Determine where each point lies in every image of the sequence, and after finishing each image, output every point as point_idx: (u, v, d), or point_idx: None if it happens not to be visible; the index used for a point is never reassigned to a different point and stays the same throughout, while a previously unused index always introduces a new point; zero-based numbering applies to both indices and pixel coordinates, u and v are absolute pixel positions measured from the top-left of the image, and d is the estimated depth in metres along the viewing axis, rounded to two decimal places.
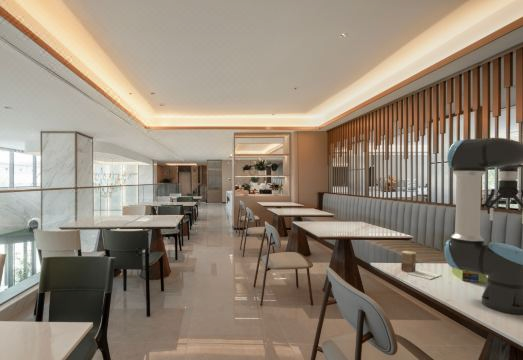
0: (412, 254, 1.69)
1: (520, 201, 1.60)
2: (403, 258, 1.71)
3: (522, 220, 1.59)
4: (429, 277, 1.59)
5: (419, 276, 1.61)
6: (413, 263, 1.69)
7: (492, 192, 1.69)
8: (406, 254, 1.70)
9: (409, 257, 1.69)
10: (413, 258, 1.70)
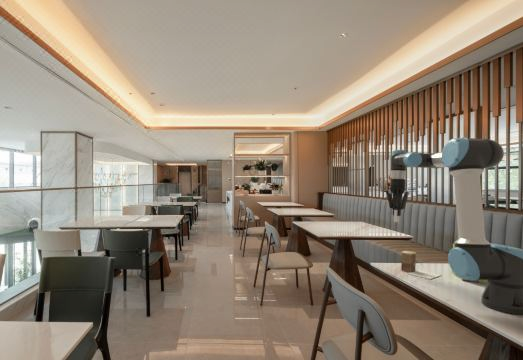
0: (412, 254, 1.69)
1: (399, 201, 1.76)
2: (403, 258, 1.71)
3: (395, 219, 1.77)
4: (429, 277, 1.59)
5: (419, 276, 1.61)
6: (413, 263, 1.69)
7: (387, 193, 1.81)
8: (406, 254, 1.70)
9: (409, 257, 1.69)
10: (413, 258, 1.70)
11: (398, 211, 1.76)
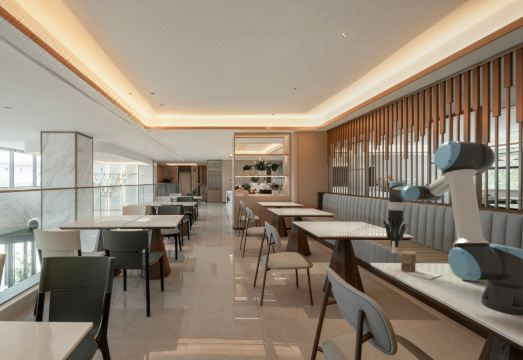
0: (412, 254, 1.69)
1: (397, 232, 1.76)
2: (403, 258, 1.71)
3: (393, 250, 1.77)
4: (429, 277, 1.59)
5: (419, 276, 1.61)
6: (413, 263, 1.69)
7: (385, 224, 1.81)
8: (406, 254, 1.70)
9: (409, 257, 1.69)
10: (413, 258, 1.70)
11: (396, 242, 1.76)
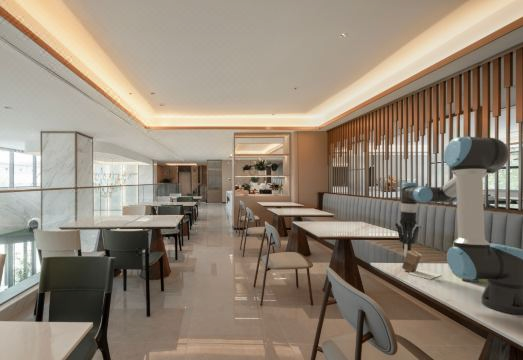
0: (417, 256, 1.66)
1: (410, 235, 1.70)
2: (407, 257, 1.69)
3: (405, 253, 1.71)
4: (429, 277, 1.59)
5: (419, 276, 1.61)
6: (415, 264, 1.68)
7: (397, 226, 1.75)
8: (411, 255, 1.68)
9: (414, 258, 1.67)
10: (417, 260, 1.68)
11: (408, 245, 1.71)
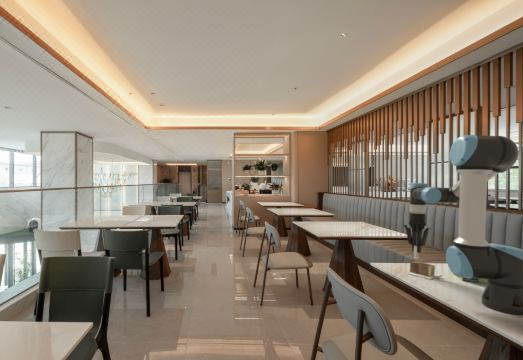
0: None
1: (419, 237, 1.66)
2: (423, 267, 1.63)
3: (415, 255, 1.67)
4: (429, 277, 1.59)
5: (419, 276, 1.61)
6: None
7: (406, 228, 1.72)
8: (427, 271, 1.61)
9: (425, 274, 1.62)
10: None
11: (418, 247, 1.67)
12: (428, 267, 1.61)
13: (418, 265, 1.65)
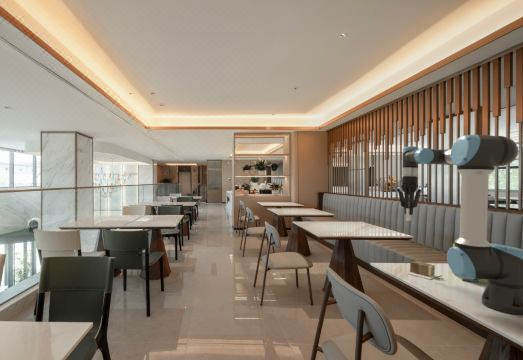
0: None
1: (411, 199, 1.70)
2: (423, 267, 1.63)
3: (407, 217, 1.71)
4: (429, 277, 1.59)
5: (419, 276, 1.61)
6: None
7: (399, 191, 1.75)
8: (427, 271, 1.61)
9: (425, 274, 1.62)
10: None
11: (410, 209, 1.71)
12: (428, 267, 1.61)
13: (418, 265, 1.65)
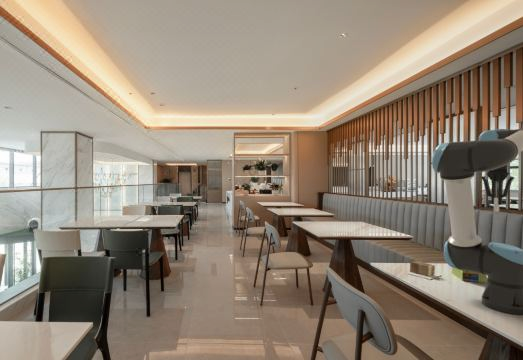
0: None
1: (501, 187, 1.53)
2: (423, 267, 1.63)
3: (495, 208, 1.54)
4: (429, 277, 1.59)
5: (419, 276, 1.61)
6: None
7: (484, 179, 1.58)
8: (427, 271, 1.61)
9: (425, 274, 1.62)
10: None
11: (499, 199, 1.54)
12: (428, 267, 1.61)
13: (418, 265, 1.65)
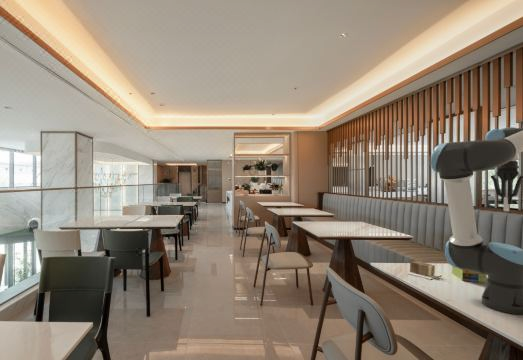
0: None
1: (511, 186, 1.51)
2: (423, 267, 1.63)
3: (505, 207, 1.53)
4: (429, 277, 1.59)
5: (419, 276, 1.61)
6: None
7: (493, 178, 1.57)
8: (427, 271, 1.61)
9: (425, 274, 1.62)
10: None
11: (509, 198, 1.52)
12: (428, 267, 1.61)
13: (418, 265, 1.65)
